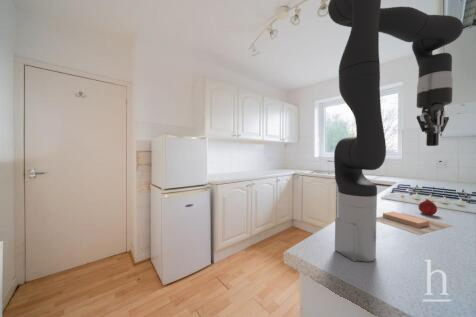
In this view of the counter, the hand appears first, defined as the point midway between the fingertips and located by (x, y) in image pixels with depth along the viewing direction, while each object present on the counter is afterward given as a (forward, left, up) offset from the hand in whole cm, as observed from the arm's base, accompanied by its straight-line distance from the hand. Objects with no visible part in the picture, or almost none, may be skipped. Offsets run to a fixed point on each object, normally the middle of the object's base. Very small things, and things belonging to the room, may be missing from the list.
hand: (432, 145), depth 56 cm
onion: (+32, +14, -31) cm, 47 cm away
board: (+12, +11, -31) cm, 35 cm away
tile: (+12, +7, -29) cm, 32 cm away
